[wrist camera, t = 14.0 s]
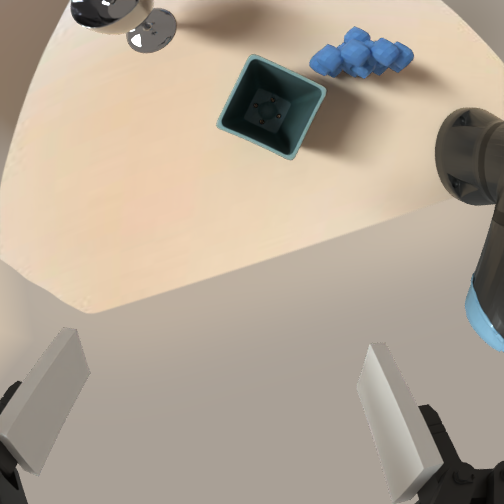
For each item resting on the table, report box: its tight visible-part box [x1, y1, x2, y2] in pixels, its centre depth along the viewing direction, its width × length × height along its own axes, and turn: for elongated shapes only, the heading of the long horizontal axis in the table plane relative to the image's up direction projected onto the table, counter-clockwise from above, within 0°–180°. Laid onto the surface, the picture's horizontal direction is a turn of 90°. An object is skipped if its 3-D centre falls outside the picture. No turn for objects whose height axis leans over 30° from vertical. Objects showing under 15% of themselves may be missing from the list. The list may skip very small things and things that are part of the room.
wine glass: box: [71, 0, 176, 53], centre depth 27 cm, size 8×8×15 cm
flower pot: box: [216, 54, 327, 160], centre depth 34 cm, size 9×9×9 cm
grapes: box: [309, 26, 414, 79], centre depth 30 cm, size 12×7×12 cm, turn 98°
